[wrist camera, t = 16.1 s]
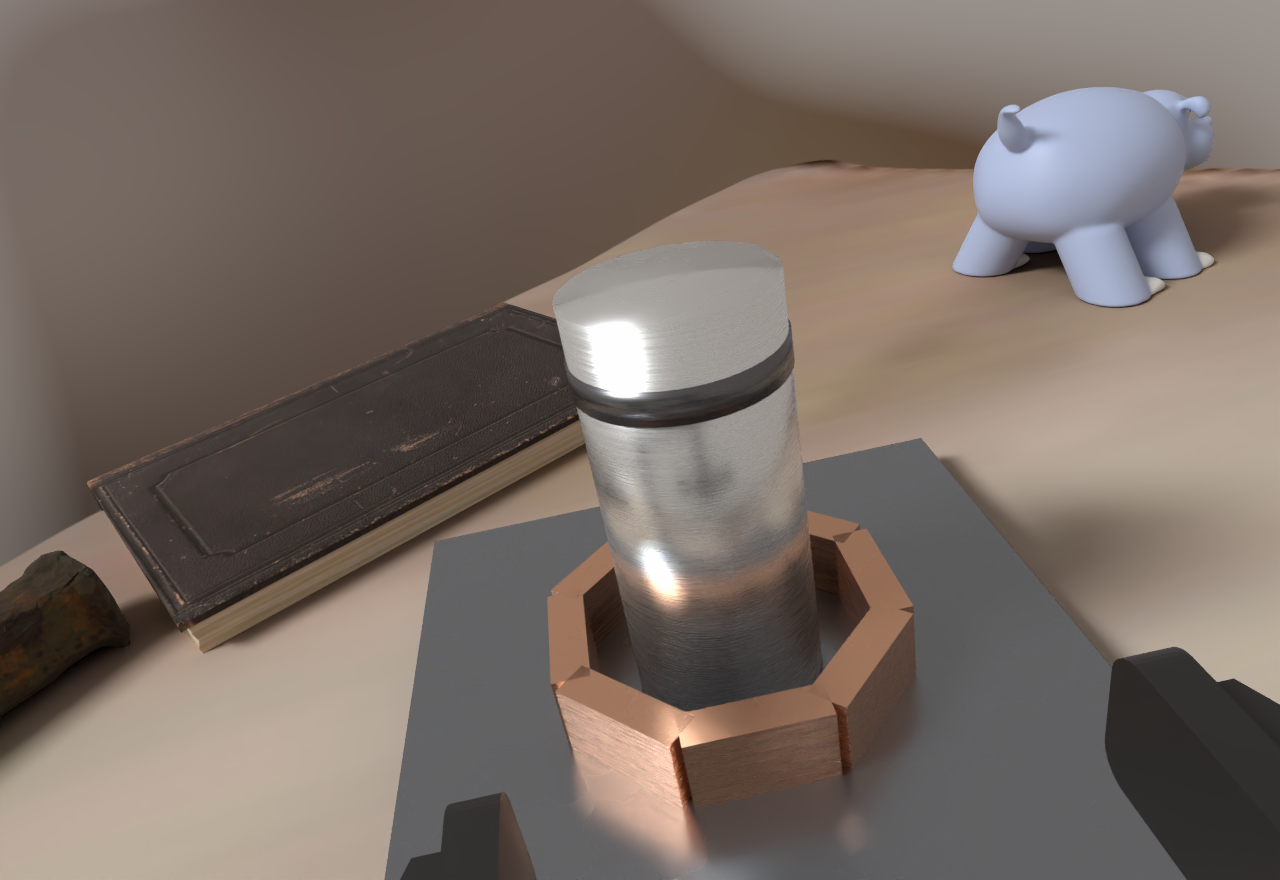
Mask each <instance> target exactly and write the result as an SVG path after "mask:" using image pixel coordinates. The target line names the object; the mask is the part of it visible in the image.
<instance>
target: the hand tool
mask: <svg viewBox="0 0 1280 880" xmlns="http://www.w3.org/2000/svg"><path fill="white" fill-rule="evenodd" d="M129 636H130V625H129V624H128V622H127V621H126V620H125V618H124V617H123V615H122V613H121V611H120V609H119V607H118V605H117V603H116V601H115V599H114V598H113V596H112V595H111V593H110V592H109V590H108V589H107V587H106V586H105V584H104V583H103V582H102V581H101V579H100V578H99V577H98V576H97V574H96V573H95V572H94V571H93V570H92V569H91V568H89V567H87V566H86V565H84V564H82V563H81V562H79V561H77V560H75V559H73V558H71V557H70V556H68V555H67V554H66V553H65V552H63V551H54V552H51V553H47V554H44V555H41V556H40V557H39V558H38V559H37V560H35V561H34V562H33V563H31V564H30V565H29V566H28V567H27V568H26V570H25V572H24V574H23V575H22V576H21V577H20V578H19V579H17V580H16V581H14V582H12V583H11V584H9V585H8V586H7V587H6V588H5V589H4V590H3V591H1V592H0V717H1V716H2V715H3V714H5V713H6V712H8V711H9V710H11V709H12V708H14V707H15V706H16V705H18V704H19V703H21V702H23V701H25V700H26V699H28V698H29V697H31V696H32V695H33V694H35V693H36V692H37V691H39V690H40V689H42V688H44V687H46V686H48V685H49V684H51V683H53V682H54V681H55V680H56V679H57V678H58V677H59V676H60V675H61V674H62V673H63V672H64V671H65V670H66V669H68V668H69V667H70V666H71V665H72V664H74V663H75V662H77V661H78V660H80V659H81V658H83V657H85V656H86V655H88V654H89V653H91V652H92V651H94V650H96V649H97V648H100V647H103V646H116V647H119V648H120V647H124V646H127V645H128V644H129V643H130V639H129Z"/></svg>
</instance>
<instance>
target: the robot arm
mask: <svg viewBox="0 0 1280 880" xmlns="http://www.w3.org/2000/svg"><path fill="white" fill-rule="evenodd" d="M1105 750H1106V755H1107V759H1108V762H1109V765H1110V768H1111V771H1112V773H1113V775H1114V777H1115V779H1116V781H1117V783H1118V785H1119V787H1120V788H1121V790H1122V791H1123V793H1124V794H1125V795H1126V797H1127V798H1128V799H1129V801H1130V802H1131V804H1132V805H1133V806H1134V808H1135V809H1136V811H1137V812H1138V813H1139V815H1140V816H1141V817H1142V819H1143V820H1144V822H1145V823H1146V824H1147V826H1148V827H1149V828H1150V830H1151V831H1152V833H1153V834H1154V835H1155V837H1156V838H1157V839H1158V841H1159V842H1160V844H1161V845H1162V846H1163V848H1164V849H1165V851H1166V852H1167V853H1168V855H1169V856H1170V857H1171V859H1172V860H1173V862H1174V863H1175V864H1176V866H1177V867H1178V868H1179V870H1180V871H1181V873H1182V874H1183V875H1184V877H1185V878H1186V879H1187V880H1280V704H1278V703H1276V702H1274V701H1272V700H1271V699H1269V698H1267V697H1265V696H1264V695H1262V694H1260V693H1258V692H1257V691H1255V690H1253V689H1251V688H1249V687H1248V686H1246V685H1244V684H1242V683H1241V682H1239V681H1237V680H1235V679H1230V680H1225V681H1221V682H1216V681H1215V680H1214V679H1213V678H1212V677H1211V676H1210V675H1209V674H1208V673H1207V672H1206V671H1205V670H1204V668H1203V667H1202V666H1201V665H1200V664H1199V663H1198V662H1197V661H1196V660H1195V659H1194V658H1193V657H1192V656H1191V655H1190V654H1189V653H1187V652H1186V651H1184V650H1183V649H1181V648H1178V647H1171V648H1166V649H1162V650H1157V651H1152V652H1148V653H1143V654H1139V655H1134V656H1130V657H1125V658H1121V659H1118V660H1116V661H1115V662H1114V664H1113V666H1112V671H1111V681H1110V691H1109V701H1108V711H1107V721H1106V731H1105ZM400 880H536V875H535V871H534V867H533V864H532V861H531V858H530V856H529V853H528V850H527V847H526V844H525V842H524V839H523V836H522V833H521V831H520V828H519V825H518V822H517V819H516V817H515V814H514V811H513V808H512V806H511V803H510V800H509V798H508V796H507V794H506V793H505V792H502V793H497V794H492V795H488V796H483V797H479V798H474V799H470V800H465V801H461V802H456V803H452V804H448V805H447V807H446V809H445V813H444V821H443V832H442V844H441V852H436V853H432V854H427V855H423V856H418V857H414V858H411V860H410V861H409V863H408V865H407V867H406V869H405V871H404V873H403V875H402V877H401V879H400Z"/></svg>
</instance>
